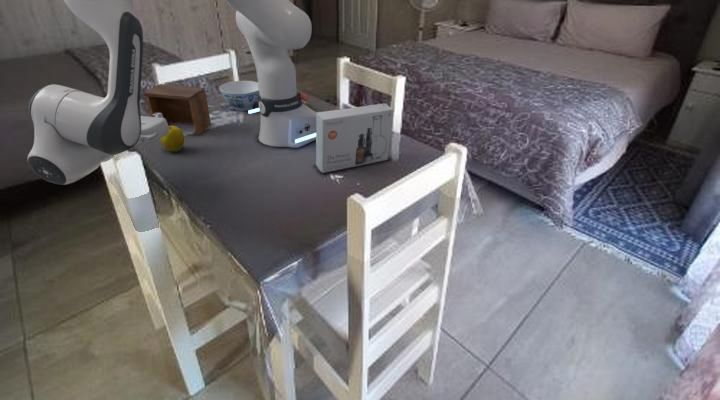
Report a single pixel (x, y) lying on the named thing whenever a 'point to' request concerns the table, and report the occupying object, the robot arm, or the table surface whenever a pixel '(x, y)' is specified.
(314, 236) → the table surface
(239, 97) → the chinaware
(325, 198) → the table surface
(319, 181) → the table surface
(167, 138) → the yellow lemon
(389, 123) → the skincare box
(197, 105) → the cabinet
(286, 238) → the table surface
